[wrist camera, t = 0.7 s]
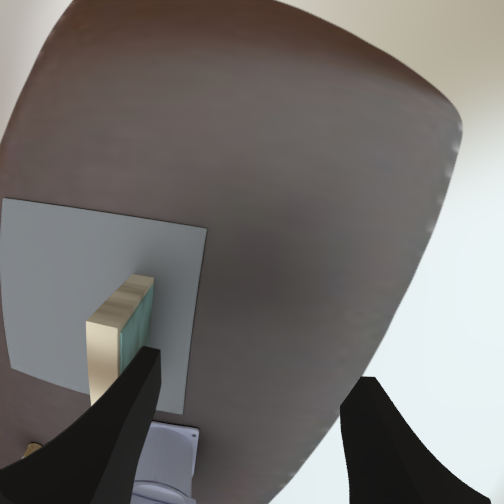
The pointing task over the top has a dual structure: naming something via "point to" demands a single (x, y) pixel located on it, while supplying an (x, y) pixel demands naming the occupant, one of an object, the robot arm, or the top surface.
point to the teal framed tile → (118, 332)
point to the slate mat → (93, 287)
